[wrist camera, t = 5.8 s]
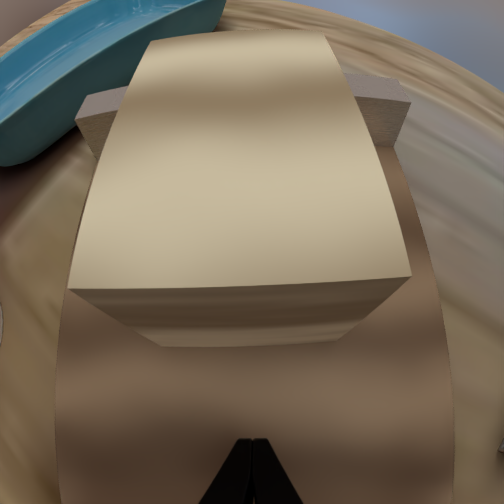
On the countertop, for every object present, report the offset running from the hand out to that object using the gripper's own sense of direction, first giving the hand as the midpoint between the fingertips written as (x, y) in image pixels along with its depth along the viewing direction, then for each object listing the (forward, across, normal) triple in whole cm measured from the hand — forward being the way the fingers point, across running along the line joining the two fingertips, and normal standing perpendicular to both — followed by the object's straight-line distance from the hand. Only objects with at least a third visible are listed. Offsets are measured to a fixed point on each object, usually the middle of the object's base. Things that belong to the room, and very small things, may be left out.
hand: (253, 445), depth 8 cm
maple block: (+10, 0, -4) cm, 11 cm away
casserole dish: (+28, +18, -19) cm, 38 cm away
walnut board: (+8, 0, +1) cm, 8 cm away
